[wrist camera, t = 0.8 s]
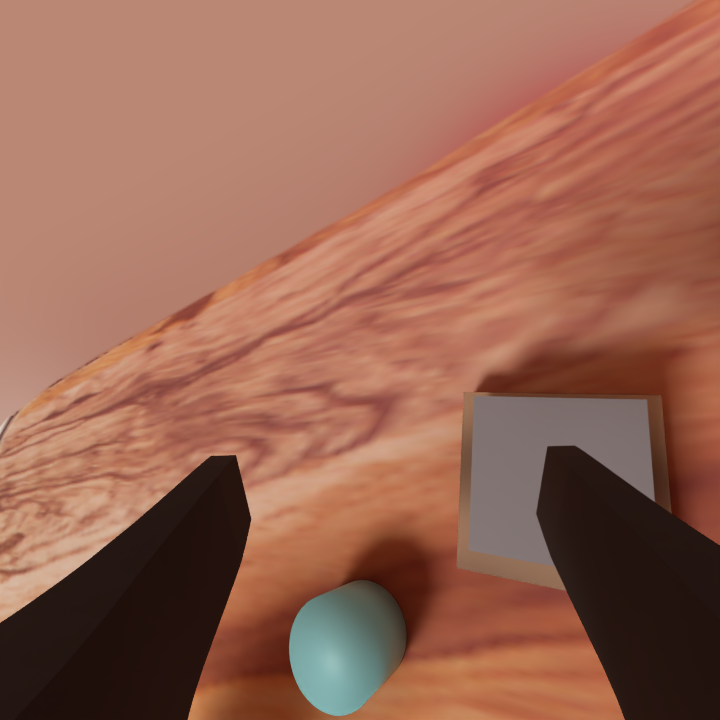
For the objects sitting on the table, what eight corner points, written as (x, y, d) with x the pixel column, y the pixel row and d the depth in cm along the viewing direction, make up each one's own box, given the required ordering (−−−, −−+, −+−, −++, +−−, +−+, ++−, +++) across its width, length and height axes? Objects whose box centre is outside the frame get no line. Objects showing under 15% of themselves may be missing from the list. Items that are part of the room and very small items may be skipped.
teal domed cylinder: (403, 694, 21) (372, 733, 18) (322, 664, 24) (282, 694, 20) (410, 590, 23) (382, 608, 19) (333, 571, 25) (296, 584, 21)
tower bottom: (666, 599, 18) (680, 614, 16) (466, 560, 22) (456, 567, 20) (650, 405, 21) (661, 395, 19) (472, 400, 25) (463, 392, 22)
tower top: (648, 574, 17) (661, 586, 15) (478, 543, 20) (468, 550, 18) (636, 409, 19) (646, 399, 17) (482, 405, 22) (473, 396, 20)
